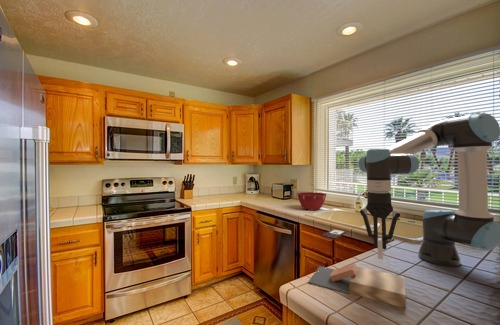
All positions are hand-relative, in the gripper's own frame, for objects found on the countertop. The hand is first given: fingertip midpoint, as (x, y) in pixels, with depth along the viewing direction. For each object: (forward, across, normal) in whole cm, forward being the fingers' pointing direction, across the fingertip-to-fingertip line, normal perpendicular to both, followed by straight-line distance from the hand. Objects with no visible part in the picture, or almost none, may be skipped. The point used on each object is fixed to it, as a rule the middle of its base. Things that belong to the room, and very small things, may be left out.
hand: (380, 257), depth 83 cm
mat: (+10, -16, -3) cm, 19 cm away
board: (+11, -1, -3) cm, 11 cm away
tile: (+8, -12, -3) cm, 14 cm away
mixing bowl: (+13, -64, +134) cm, 149 cm away
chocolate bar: (+12, -28, +58) cm, 65 cm away
